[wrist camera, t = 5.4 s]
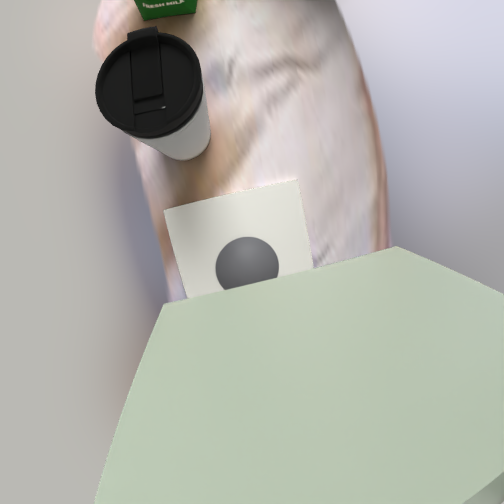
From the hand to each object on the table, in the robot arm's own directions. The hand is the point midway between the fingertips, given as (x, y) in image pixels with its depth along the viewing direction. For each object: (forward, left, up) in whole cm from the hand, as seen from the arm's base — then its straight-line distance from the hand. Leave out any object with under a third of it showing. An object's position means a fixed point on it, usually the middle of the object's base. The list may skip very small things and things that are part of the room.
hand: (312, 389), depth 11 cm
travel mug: (-10, -13, -26) cm, 30 cm away
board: (+2, 0, -25) cm, 25 cm away
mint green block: (0, 0, -1) cm, 1 cm away
